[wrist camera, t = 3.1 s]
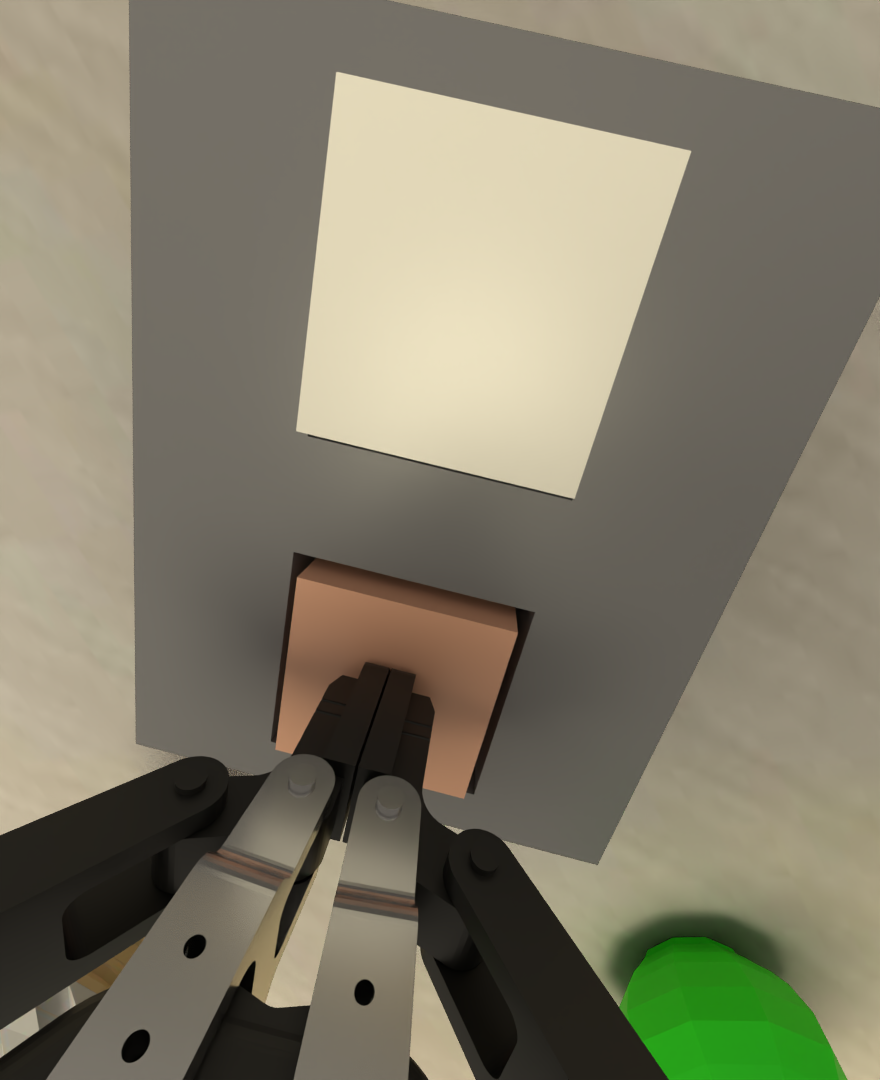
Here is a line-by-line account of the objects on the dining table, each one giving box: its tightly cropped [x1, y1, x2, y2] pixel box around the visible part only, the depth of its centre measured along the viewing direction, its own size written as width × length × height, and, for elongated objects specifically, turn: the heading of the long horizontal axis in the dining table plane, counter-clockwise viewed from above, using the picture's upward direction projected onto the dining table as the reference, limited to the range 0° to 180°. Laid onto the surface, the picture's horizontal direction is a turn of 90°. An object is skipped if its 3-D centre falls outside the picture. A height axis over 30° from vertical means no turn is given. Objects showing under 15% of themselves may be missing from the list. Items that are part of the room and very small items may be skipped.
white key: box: [296, 72, 691, 499], centre depth 10 cm, size 6×6×3 cm
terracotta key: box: [275, 558, 518, 799], centre depth 14 cm, size 6×6×3 cm
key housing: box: [129, 0, 880, 865], centre depth 15 cm, size 16×20×6 cm
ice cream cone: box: [0, 937, 145, 1058], centre depth 17 cm, size 6×6×15 cm
